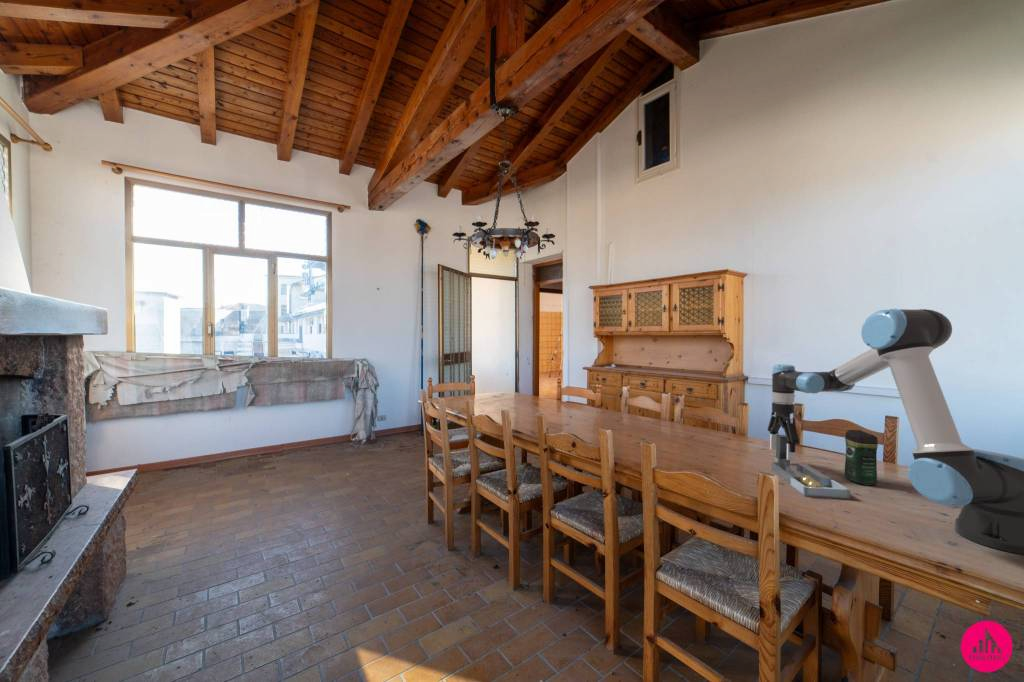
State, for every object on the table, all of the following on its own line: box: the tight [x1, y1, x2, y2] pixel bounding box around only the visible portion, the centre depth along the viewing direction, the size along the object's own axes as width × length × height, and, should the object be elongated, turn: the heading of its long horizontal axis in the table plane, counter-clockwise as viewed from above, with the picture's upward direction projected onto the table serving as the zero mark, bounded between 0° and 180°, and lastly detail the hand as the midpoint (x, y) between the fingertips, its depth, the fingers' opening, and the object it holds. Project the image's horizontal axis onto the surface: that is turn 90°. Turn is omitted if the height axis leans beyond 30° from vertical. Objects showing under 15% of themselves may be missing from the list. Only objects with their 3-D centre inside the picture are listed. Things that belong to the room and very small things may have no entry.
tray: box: [790, 478, 851, 500], centre depth 139 cm, size 9×14×3 cm, turn 81°
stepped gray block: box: [773, 434, 791, 467], centre depth 164 cm, size 3×4×13 cm
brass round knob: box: [800, 475, 814, 486], centre depth 142 cm, size 4×4×3 cm
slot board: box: [771, 461, 832, 487], centre depth 151 cm, size 16×12×4 cm
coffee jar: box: [844, 429, 879, 486], centre depth 149 cm, size 10×8×19 cm
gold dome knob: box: [805, 479, 823, 488], centre depth 138 cm, size 4×4×3 cm
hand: (782, 454), depth 164 cm, fingers open, 13 cm apart
